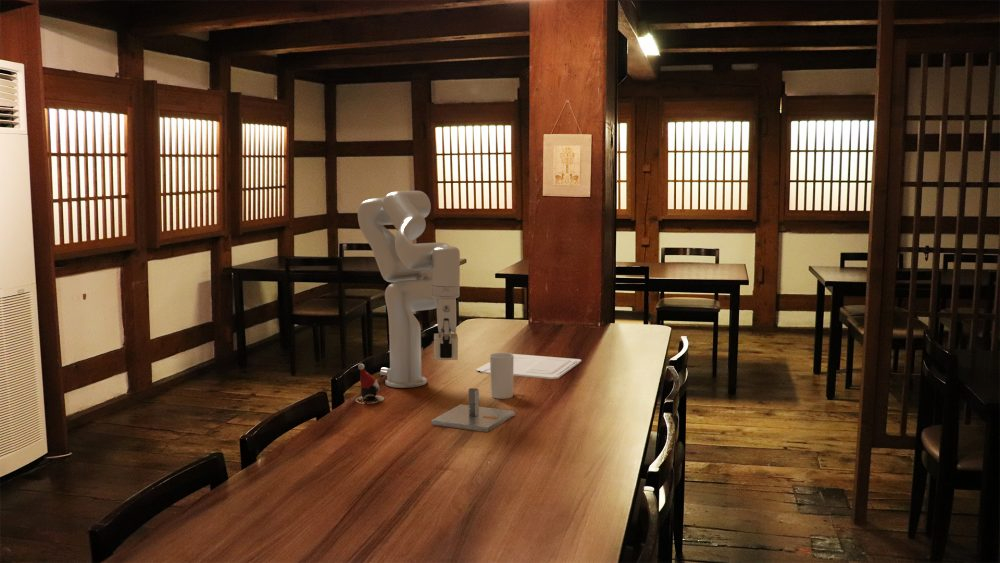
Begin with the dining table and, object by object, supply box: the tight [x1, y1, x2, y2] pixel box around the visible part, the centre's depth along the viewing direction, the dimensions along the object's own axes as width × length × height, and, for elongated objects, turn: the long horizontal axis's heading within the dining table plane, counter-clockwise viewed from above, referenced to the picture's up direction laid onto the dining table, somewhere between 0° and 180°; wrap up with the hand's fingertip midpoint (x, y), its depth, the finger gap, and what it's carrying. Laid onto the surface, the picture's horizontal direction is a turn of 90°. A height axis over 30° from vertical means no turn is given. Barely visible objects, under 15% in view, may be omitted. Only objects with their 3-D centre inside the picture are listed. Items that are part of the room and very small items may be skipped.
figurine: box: [354, 363, 385, 405], centre depth 242 cm, size 8×10×12 cm
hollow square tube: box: [433, 332, 459, 361], centre depth 238 cm, size 6×6×6 cm
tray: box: [475, 353, 582, 380], centre depth 283 cm, size 28×28×2 cm
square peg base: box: [431, 387, 515, 433], centre depth 222 cm, size 16×16×8 cm
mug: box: [489, 352, 514, 400], centre depth 247 cm, size 10×7×12 cm, turn 158°
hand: (445, 353), depth 238 cm, fingers closed on hollow square tube, 6 cm apart
